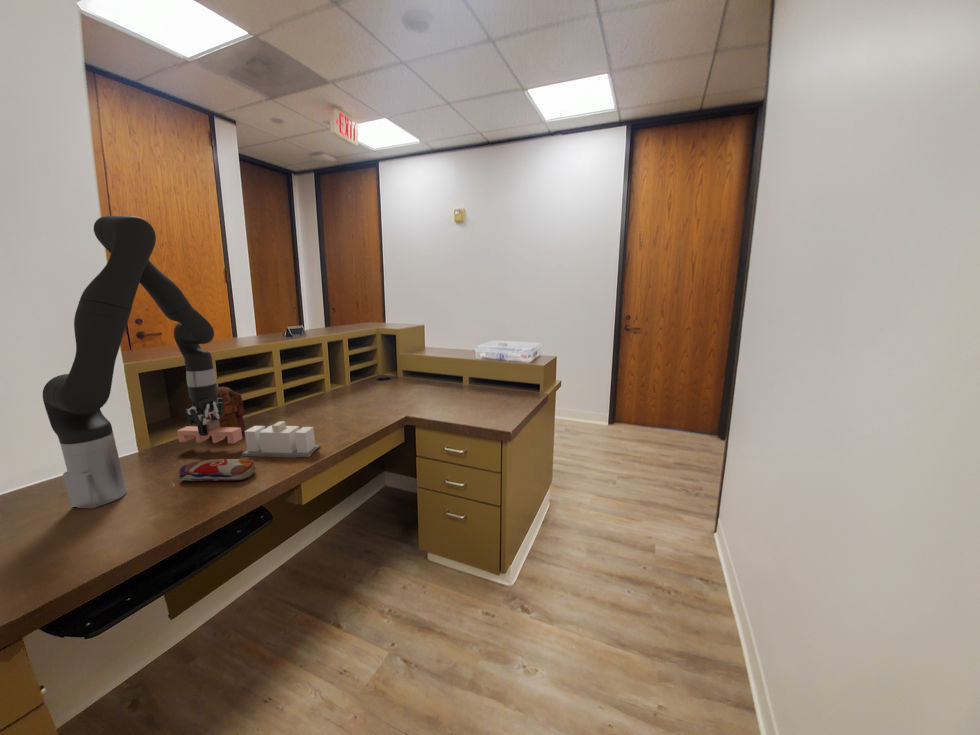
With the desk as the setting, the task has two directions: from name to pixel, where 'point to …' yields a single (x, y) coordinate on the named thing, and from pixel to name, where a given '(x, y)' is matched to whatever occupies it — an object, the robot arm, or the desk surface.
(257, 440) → the white block cluster
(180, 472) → the pencil case
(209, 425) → the pink arch block
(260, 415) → the desk surface
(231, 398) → the wooden figurine
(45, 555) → the desk surface
